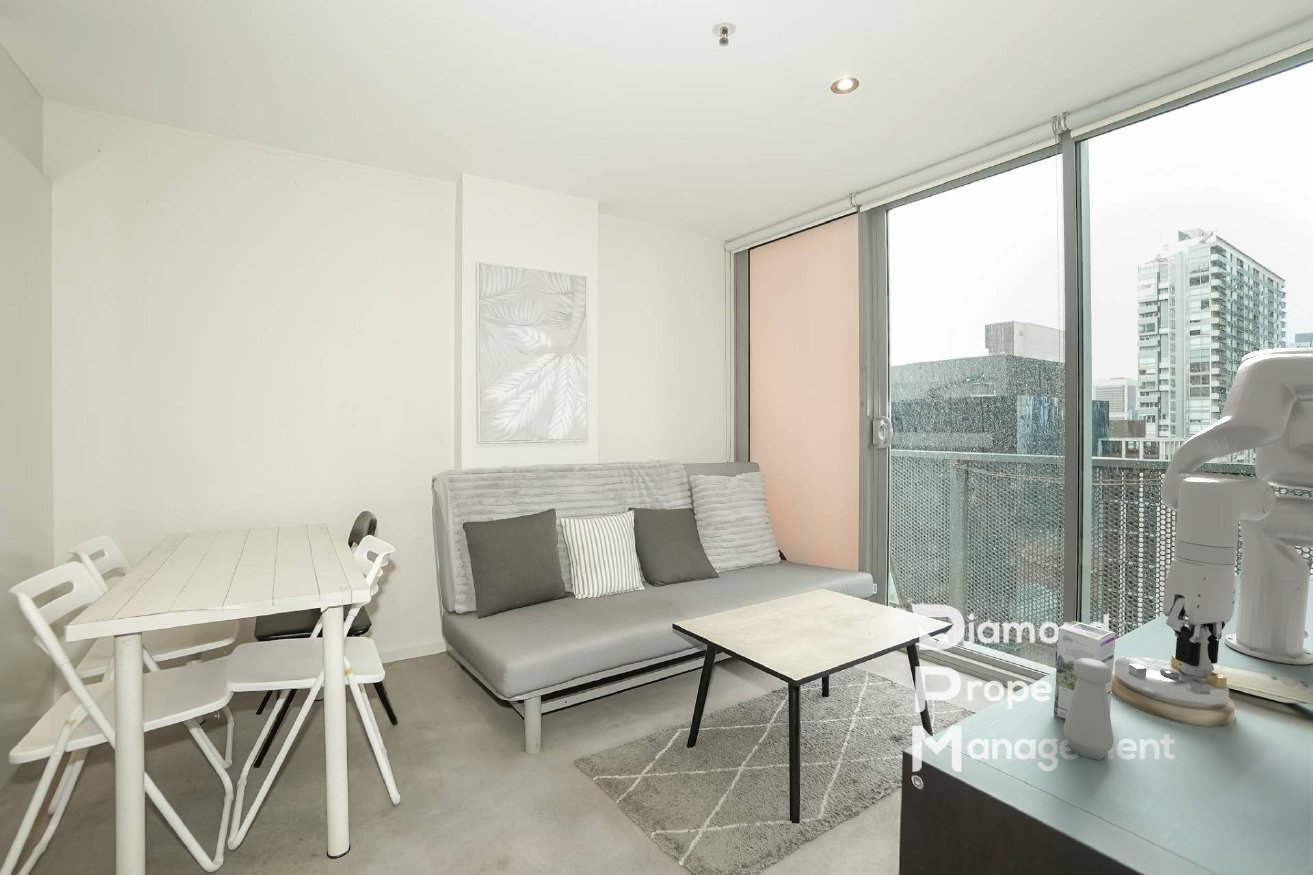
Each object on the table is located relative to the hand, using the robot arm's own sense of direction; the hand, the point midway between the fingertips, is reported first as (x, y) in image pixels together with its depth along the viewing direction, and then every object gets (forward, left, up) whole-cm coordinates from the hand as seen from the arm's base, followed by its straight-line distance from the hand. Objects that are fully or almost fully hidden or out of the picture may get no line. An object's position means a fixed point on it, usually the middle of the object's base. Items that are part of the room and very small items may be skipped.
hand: (1196, 660), depth 101 cm
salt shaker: (+33, +4, -7) cm, 34 cm away
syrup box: (+25, -2, -7) cm, 26 cm away
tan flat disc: (+5, -1, -7) cm, 8 cm away
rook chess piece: (0, 0, -2) cm, 2 cm away
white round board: (+5, -1, -4) cm, 7 cm away
